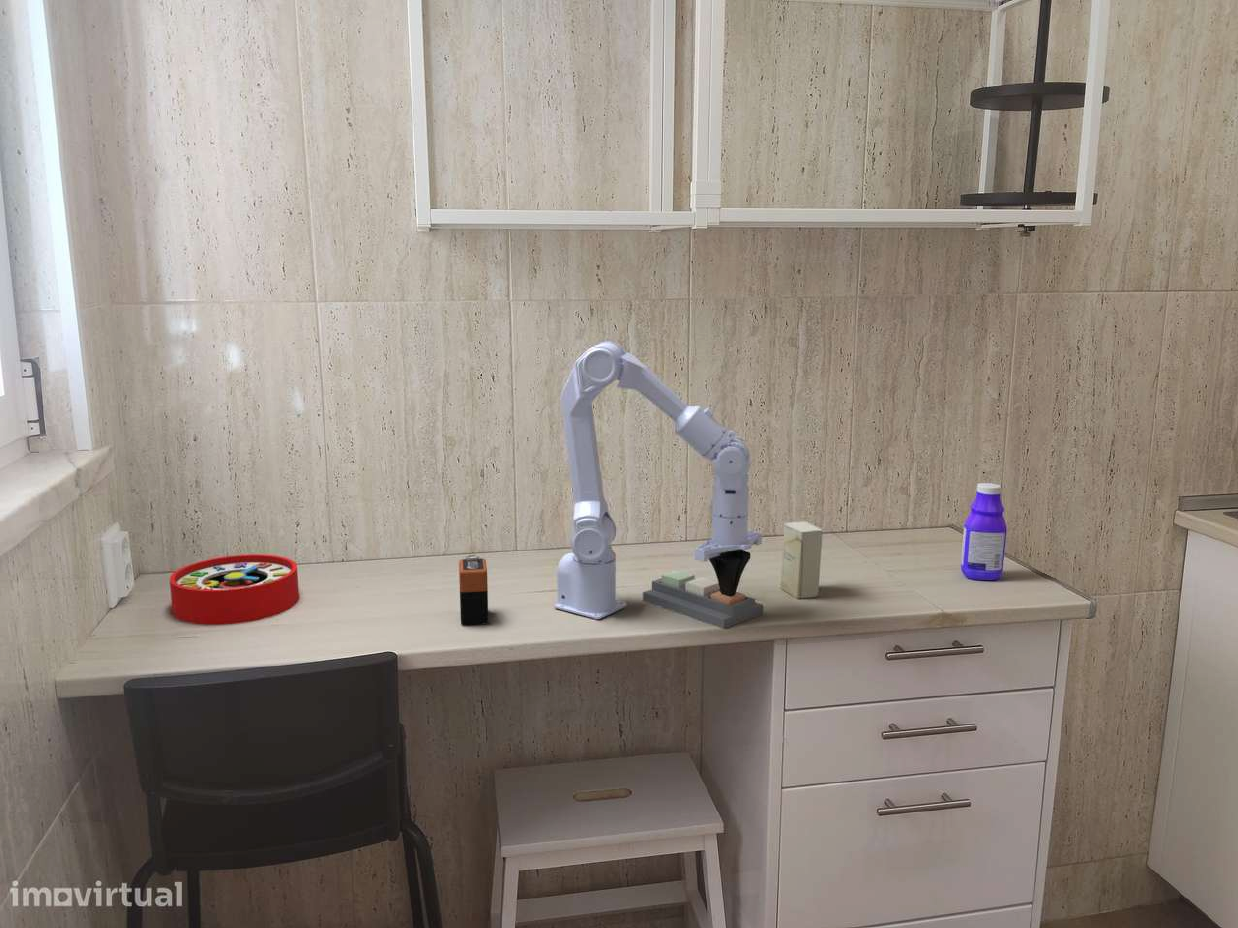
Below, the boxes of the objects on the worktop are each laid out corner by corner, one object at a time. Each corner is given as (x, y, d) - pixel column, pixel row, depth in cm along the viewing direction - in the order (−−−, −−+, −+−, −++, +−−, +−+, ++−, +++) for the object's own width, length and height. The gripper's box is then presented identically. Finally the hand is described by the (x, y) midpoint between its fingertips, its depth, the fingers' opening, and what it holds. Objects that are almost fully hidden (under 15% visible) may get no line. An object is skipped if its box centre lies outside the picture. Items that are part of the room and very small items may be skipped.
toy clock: (141, 584, 159) (223, 550, 178) (145, 618, 160) (226, 581, 179) (247, 596, 153) (320, 559, 172) (249, 631, 154) (322, 591, 173)
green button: (661, 583, 169) (661, 574, 168) (677, 578, 172) (677, 569, 171) (678, 589, 166) (678, 580, 166) (694, 583, 169) (694, 575, 168)
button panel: (642, 600, 168) (643, 583, 168) (682, 587, 175) (682, 571, 175) (723, 628, 156) (724, 610, 155) (763, 613, 162) (763, 595, 162)
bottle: (997, 572, 184) (1004, 481, 181) (1005, 582, 179) (1013, 488, 175) (957, 571, 185) (964, 480, 181) (964, 581, 179) (971, 487, 176)
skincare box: (779, 588, 175) (782, 522, 172) (801, 585, 176) (804, 520, 174) (798, 599, 169) (801, 531, 167) (820, 596, 171) (823, 529, 168)
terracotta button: (710, 603, 161) (710, 594, 161) (726, 597, 164) (726, 588, 164) (729, 609, 158) (729, 600, 158) (744, 603, 161) (745, 594, 161)
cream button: (685, 591, 165) (685, 582, 165) (701, 586, 168) (701, 577, 167) (703, 597, 162) (703, 587, 162) (719, 591, 165) (719, 582, 165)
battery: (487, 610, 164) (485, 552, 162) (488, 624, 157) (487, 564, 155) (460, 611, 163) (458, 553, 161) (461, 626, 156) (459, 566, 154)
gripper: (719, 526, 150) (717, 611, 153) (777, 510, 160) (774, 590, 163) (685, 518, 155) (684, 600, 158) (743, 503, 165) (741, 580, 168)
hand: (728, 594), depth 161 cm, fingers closed, pressing on terracotta button
